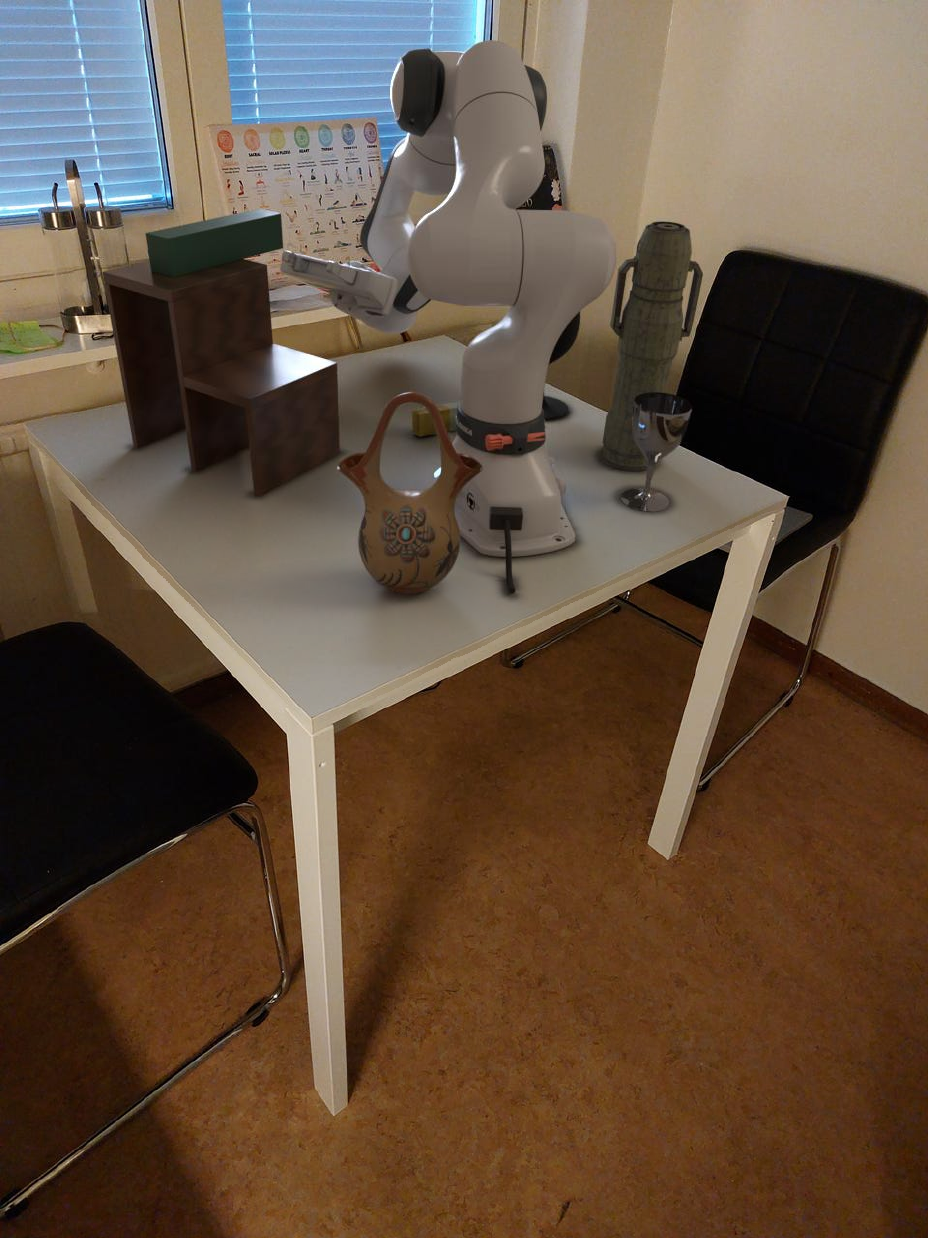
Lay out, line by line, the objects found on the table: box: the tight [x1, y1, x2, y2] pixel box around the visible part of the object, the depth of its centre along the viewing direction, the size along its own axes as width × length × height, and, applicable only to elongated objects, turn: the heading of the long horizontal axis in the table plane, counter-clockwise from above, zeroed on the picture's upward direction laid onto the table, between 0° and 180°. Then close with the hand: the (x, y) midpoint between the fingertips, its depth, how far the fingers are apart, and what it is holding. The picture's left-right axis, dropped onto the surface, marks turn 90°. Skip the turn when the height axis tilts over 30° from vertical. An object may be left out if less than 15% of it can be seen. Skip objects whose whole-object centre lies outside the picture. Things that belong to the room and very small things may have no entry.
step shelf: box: [101, 258, 341, 497], centre depth 131 cm, size 18×26×26 cm
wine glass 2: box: [620, 392, 693, 513], centre depth 127 cm, size 8×8×15 cm
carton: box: [144, 208, 284, 277], centre depth 129 cm, size 22×4×5 cm, turn 147°
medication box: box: [411, 400, 461, 438], centre depth 147 cm, size 12×3×4 cm, turn 123°
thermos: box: [600, 220, 704, 472], centre depth 133 cm, size 9×12×35 cm
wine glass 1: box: [542, 311, 581, 421], centre depth 152 cm, size 10×10×20 cm
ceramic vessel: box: [336, 391, 483, 595], centre depth 103 cm, size 16×9×25 cm, turn 95°
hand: (307, 260), depth 145 cm, fingers open, 8 cm apart
